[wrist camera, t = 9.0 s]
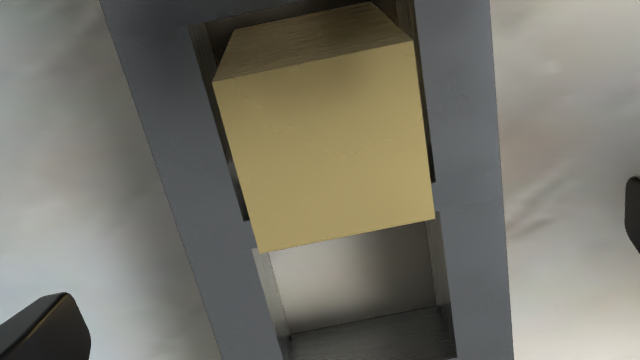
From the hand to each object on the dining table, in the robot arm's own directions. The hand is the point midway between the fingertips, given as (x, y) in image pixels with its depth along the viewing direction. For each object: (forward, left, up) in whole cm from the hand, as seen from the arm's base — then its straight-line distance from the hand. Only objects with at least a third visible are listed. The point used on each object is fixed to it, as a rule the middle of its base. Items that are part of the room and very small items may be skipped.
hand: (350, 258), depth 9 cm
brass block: (0, 0, -11) cm, 11 cm away
